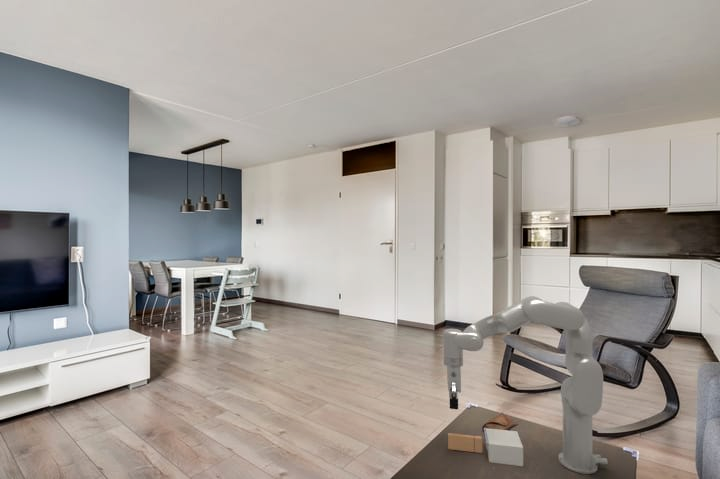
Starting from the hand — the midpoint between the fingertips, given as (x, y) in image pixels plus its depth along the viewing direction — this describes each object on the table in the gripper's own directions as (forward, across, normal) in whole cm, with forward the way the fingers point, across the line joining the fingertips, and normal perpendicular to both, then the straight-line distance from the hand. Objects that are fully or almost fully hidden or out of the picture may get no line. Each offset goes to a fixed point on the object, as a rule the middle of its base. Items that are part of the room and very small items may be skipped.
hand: (453, 403), depth 149 cm
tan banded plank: (+18, 0, -4) cm, 18 cm away
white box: (+18, 0, -19) cm, 26 cm away
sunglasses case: (+19, +22, -21) cm, 36 cm away
